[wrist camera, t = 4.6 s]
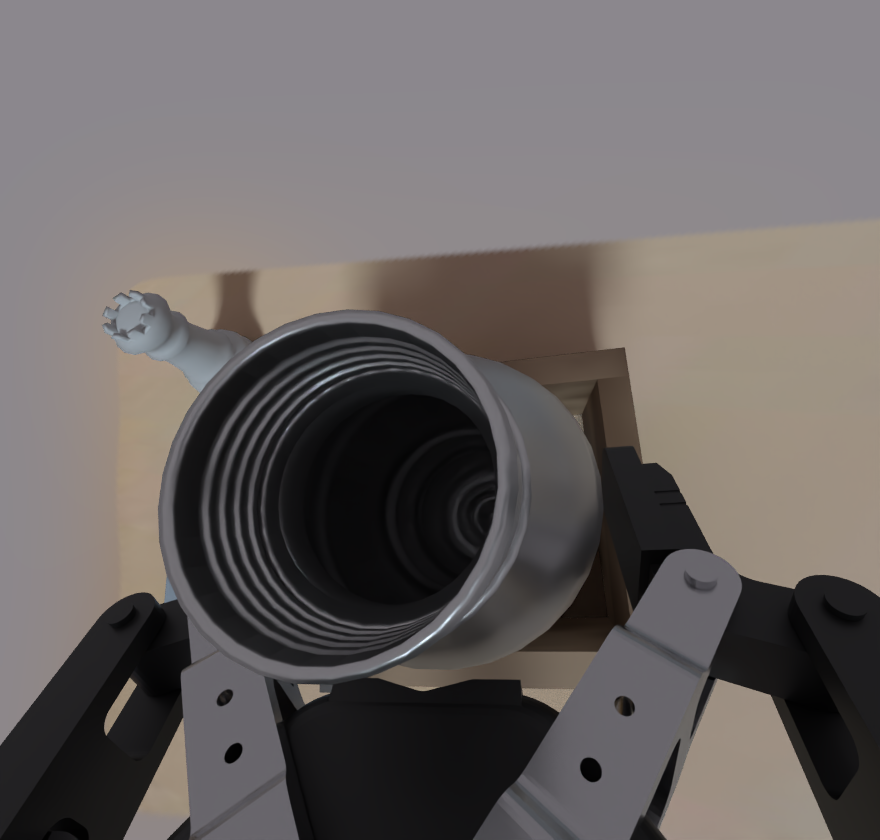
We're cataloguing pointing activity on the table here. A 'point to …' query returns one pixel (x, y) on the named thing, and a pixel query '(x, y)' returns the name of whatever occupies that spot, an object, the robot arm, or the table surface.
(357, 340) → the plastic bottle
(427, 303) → the table surface
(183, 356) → the rook chess piece
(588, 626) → the holder
